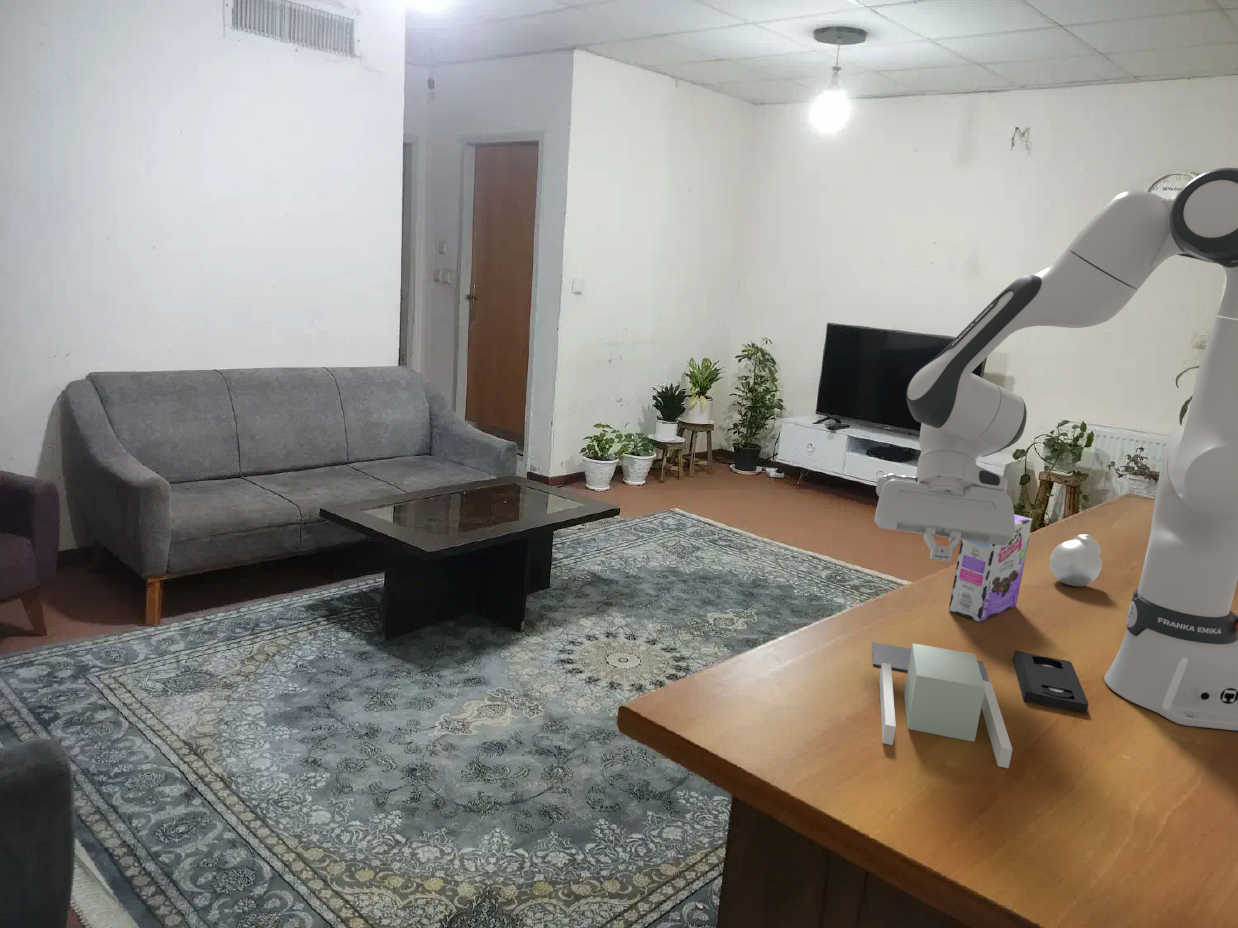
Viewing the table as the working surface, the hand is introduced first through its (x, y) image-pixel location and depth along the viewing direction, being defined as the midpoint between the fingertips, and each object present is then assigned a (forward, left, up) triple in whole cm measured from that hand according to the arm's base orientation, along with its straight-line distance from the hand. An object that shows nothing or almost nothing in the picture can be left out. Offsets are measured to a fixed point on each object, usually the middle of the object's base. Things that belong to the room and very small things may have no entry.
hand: (940, 559), depth 134 cm
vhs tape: (-16, +6, -15) cm, 23 cm away
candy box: (-11, -22, -15) cm, 28 cm away
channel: (0, +17, -14) cm, 22 cm away
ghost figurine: (-30, -44, -15) cm, 55 cm away
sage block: (0, +22, -15) cm, 27 cm away
